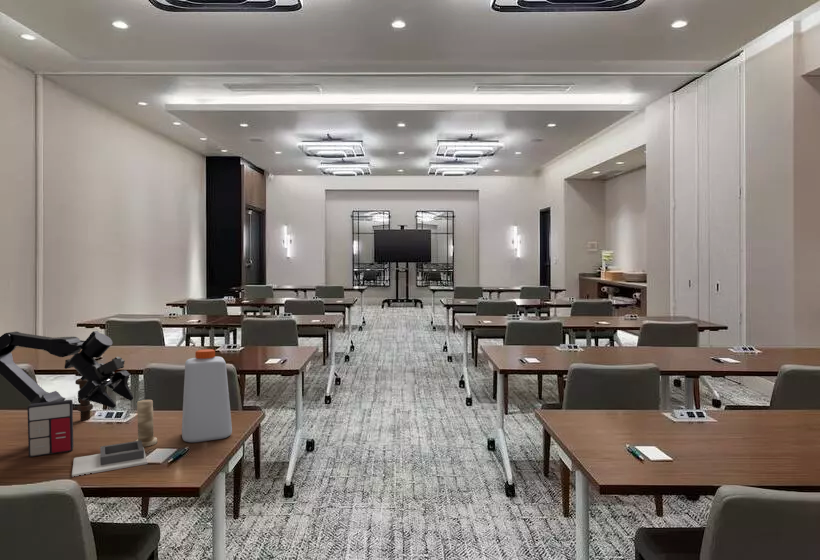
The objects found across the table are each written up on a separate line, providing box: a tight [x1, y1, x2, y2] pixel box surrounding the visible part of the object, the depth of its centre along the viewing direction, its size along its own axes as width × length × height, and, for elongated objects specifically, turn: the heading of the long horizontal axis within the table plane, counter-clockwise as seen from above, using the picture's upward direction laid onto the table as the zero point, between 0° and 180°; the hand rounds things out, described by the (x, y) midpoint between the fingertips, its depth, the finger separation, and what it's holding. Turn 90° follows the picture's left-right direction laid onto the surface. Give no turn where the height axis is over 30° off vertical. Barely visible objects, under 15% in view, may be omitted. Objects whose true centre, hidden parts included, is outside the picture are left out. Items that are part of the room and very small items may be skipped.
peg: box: [134, 399, 158, 448], centre depth 169 cm, size 6×6×13 cm
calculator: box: [26, 399, 74, 458], centre depth 161 cm, size 11×4×15 cm, turn 117°
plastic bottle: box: [181, 348, 233, 444], centre depth 177 cm, size 15×15×28 cm
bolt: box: [75, 378, 94, 421], centre depth 197 cm, size 6×5×15 cm
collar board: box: [71, 440, 148, 478], centre depth 153 cm, size 18×15×3 cm
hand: (123, 403), depth 169 cm, fingers open, 9 cm apart
